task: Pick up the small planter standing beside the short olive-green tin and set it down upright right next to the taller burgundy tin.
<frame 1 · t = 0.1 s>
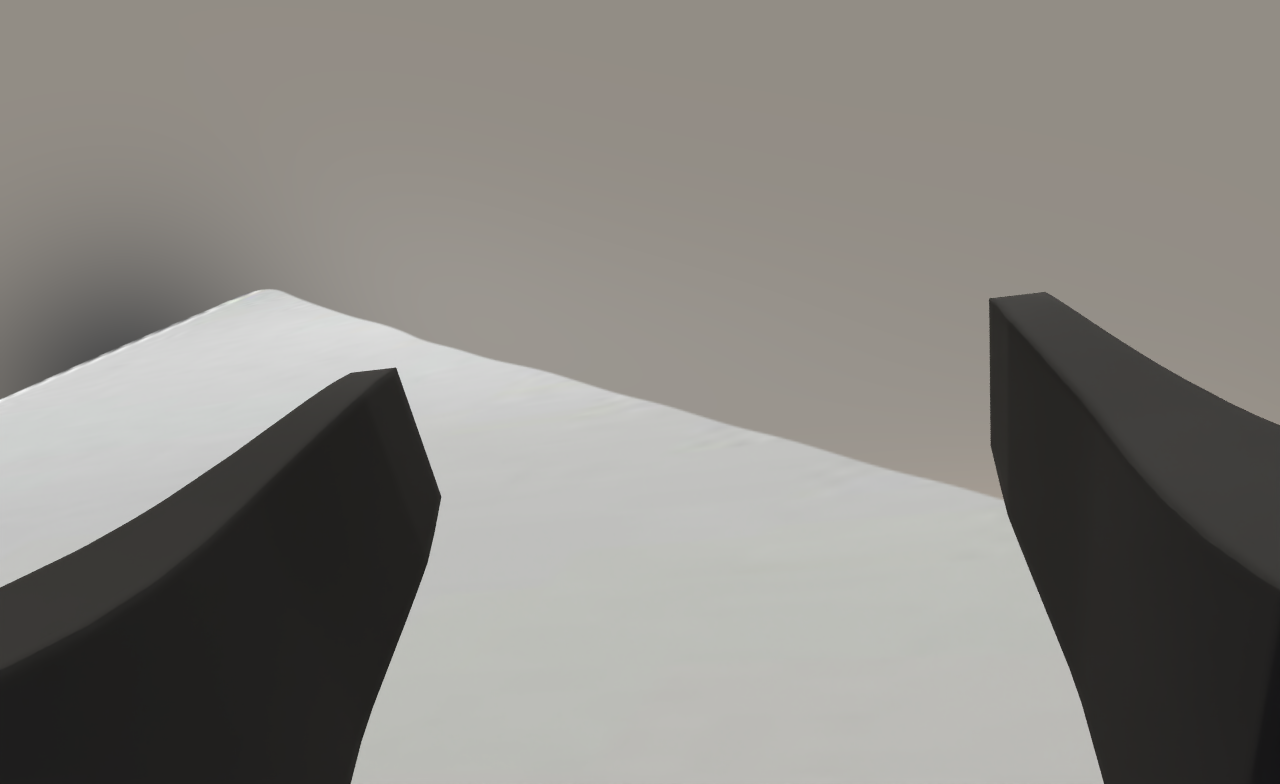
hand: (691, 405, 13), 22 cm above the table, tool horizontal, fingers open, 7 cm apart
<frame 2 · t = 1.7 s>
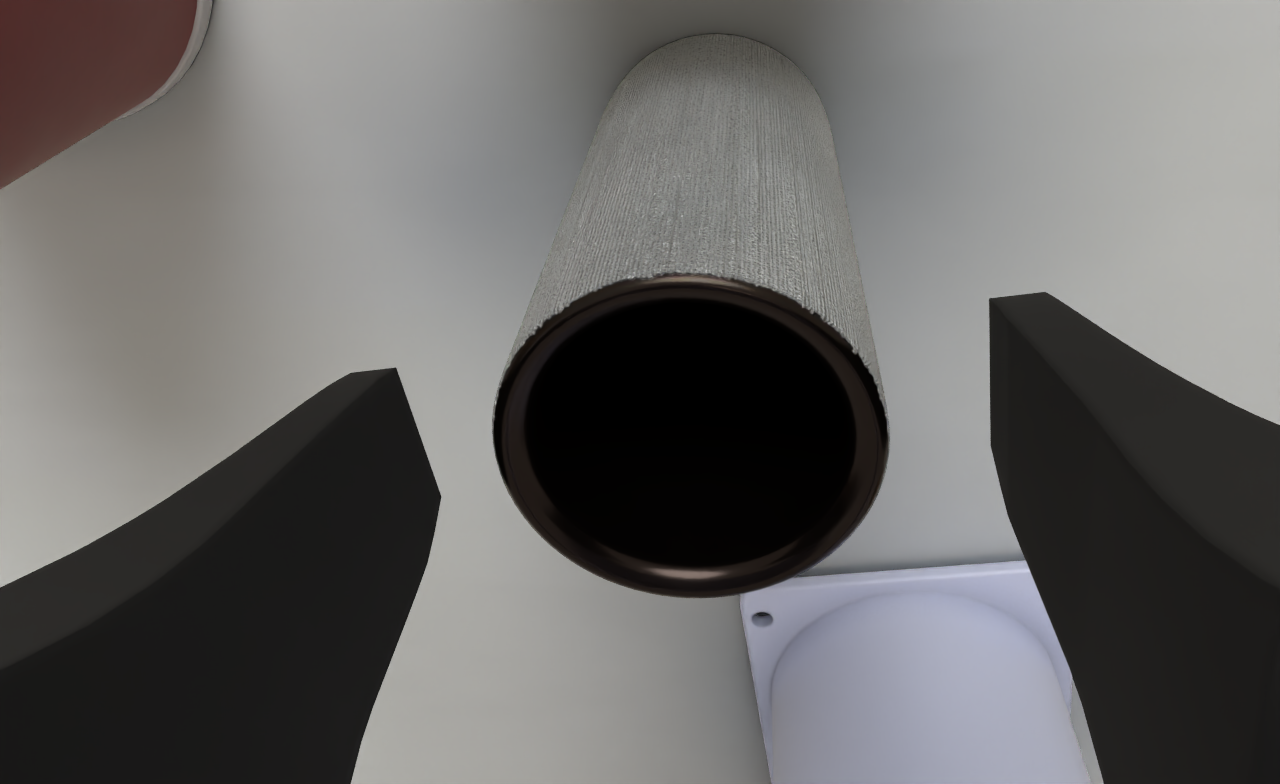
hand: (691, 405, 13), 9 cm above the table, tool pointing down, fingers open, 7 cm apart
planter: (714, 146, 21), on the table
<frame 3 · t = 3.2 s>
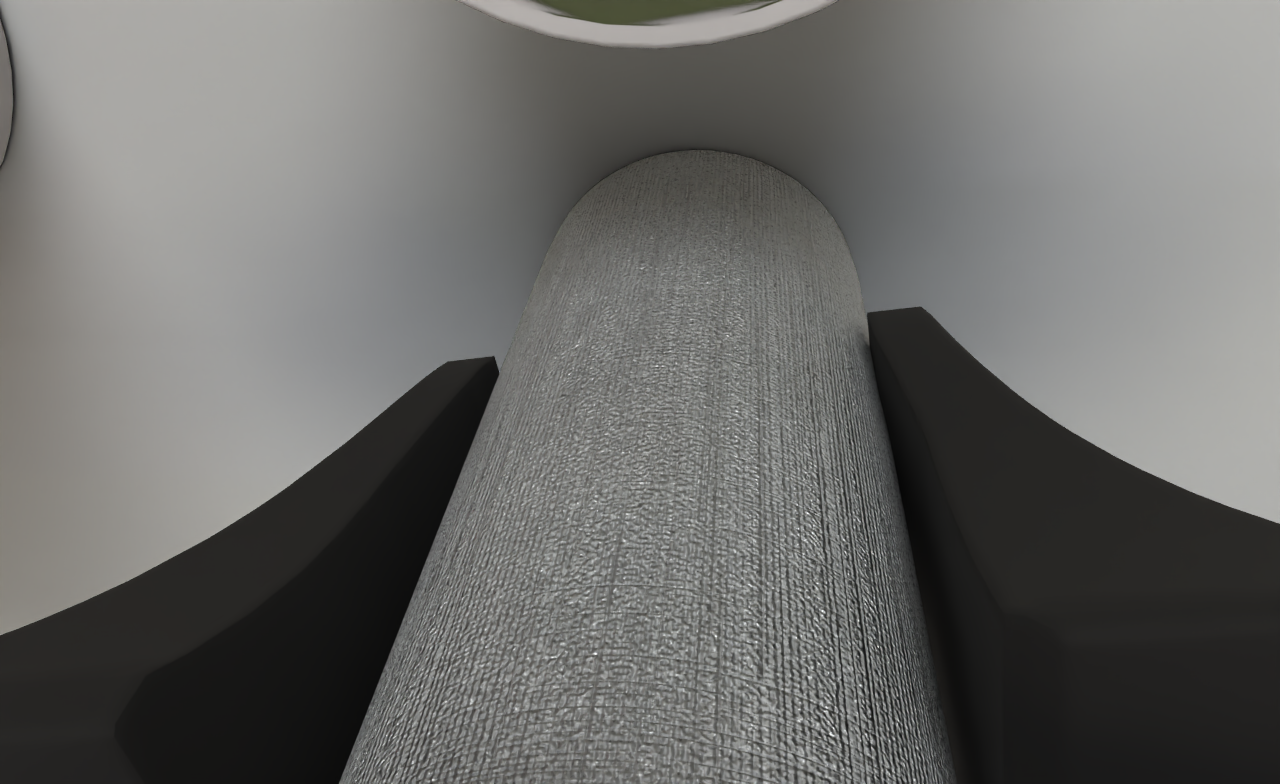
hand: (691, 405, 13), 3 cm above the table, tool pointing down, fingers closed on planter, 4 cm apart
planter: (699, 290, 15), on the table, touching gripper
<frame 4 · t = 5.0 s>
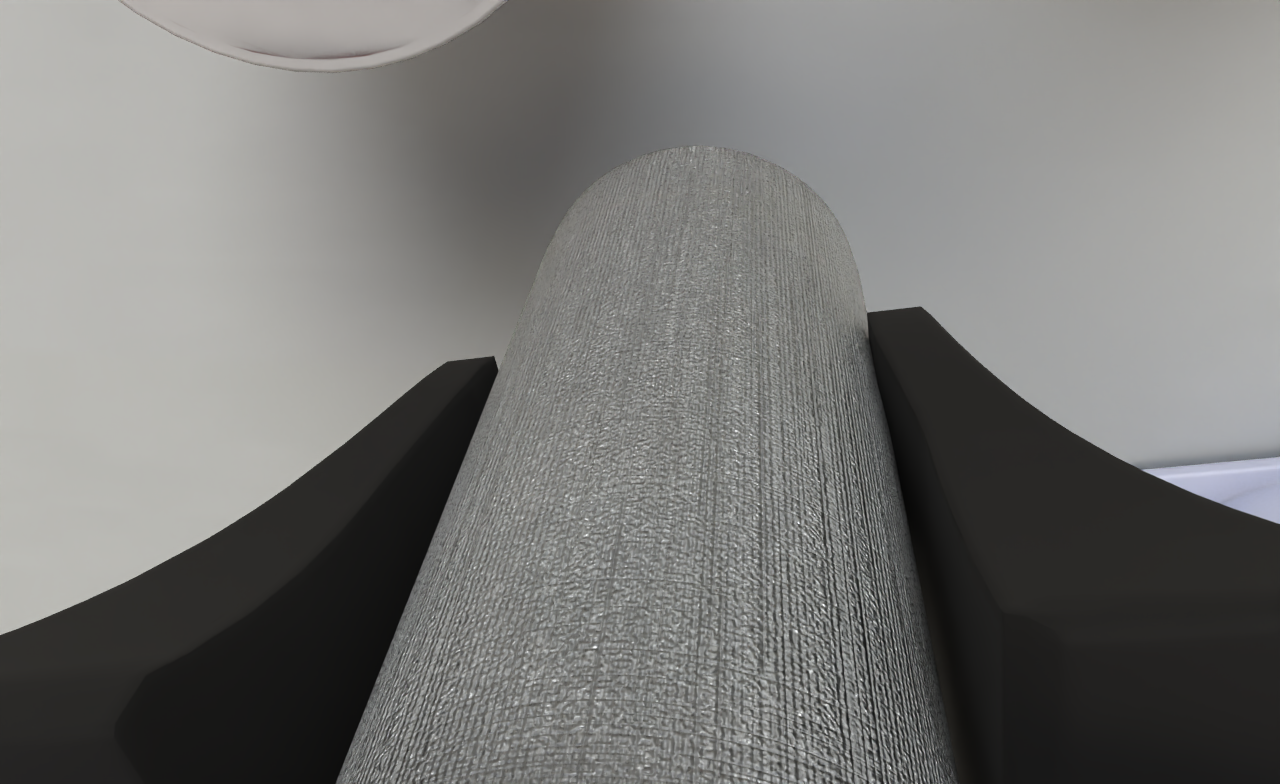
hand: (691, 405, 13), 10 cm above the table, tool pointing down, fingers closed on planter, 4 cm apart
planter: (699, 287, 15), point 7 cm above the table, touching gripper
when the fingers open (3 cm above the table, at t = 7.3 s): planter stays where it is, on the table.
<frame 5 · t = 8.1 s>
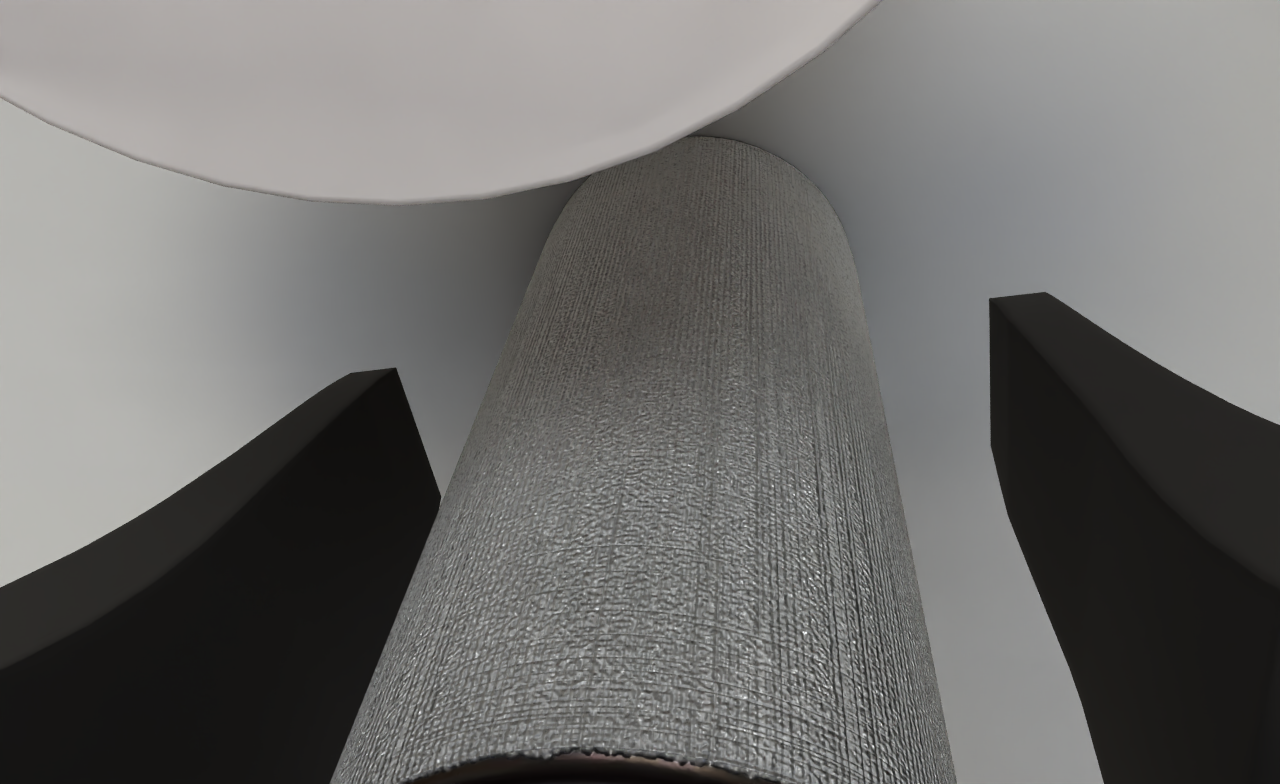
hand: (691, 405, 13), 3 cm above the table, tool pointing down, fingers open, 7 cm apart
planter: (698, 276, 16), on the table
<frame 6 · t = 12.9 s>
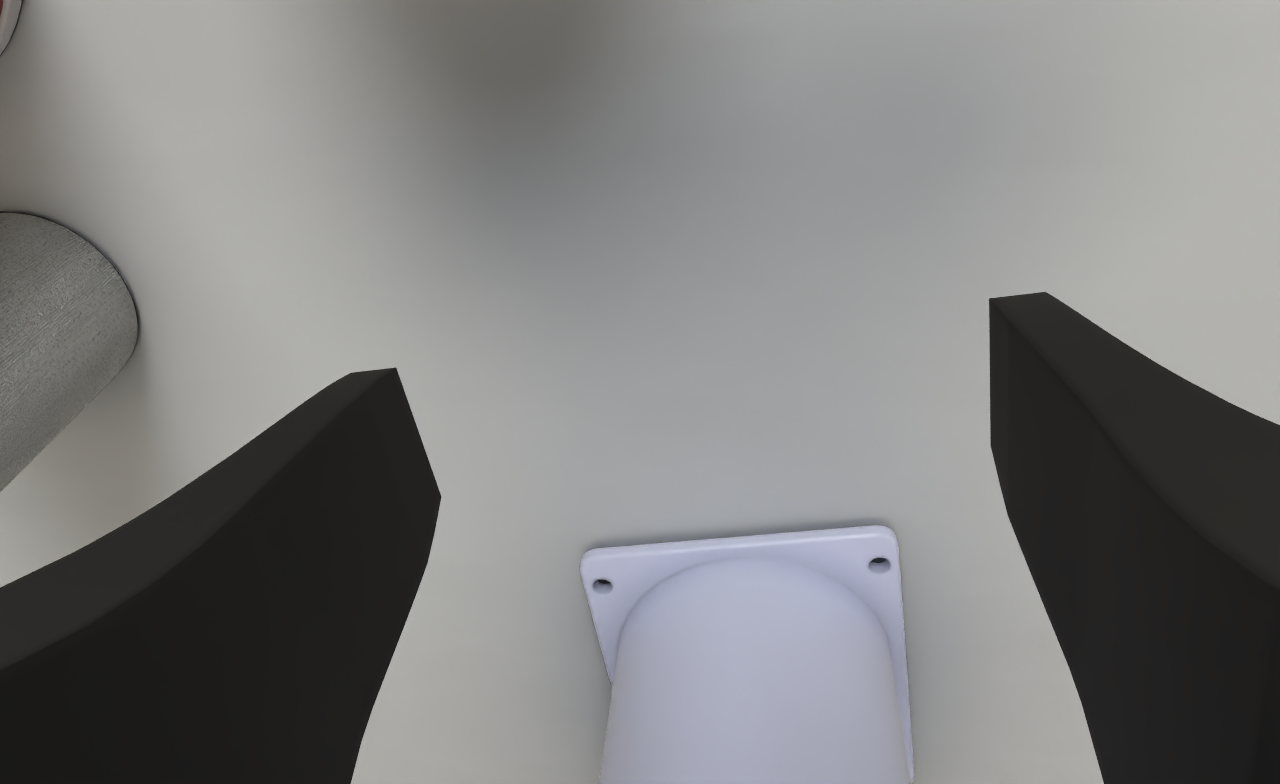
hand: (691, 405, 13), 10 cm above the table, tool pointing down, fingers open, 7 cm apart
planter: (49, 296, 25), on the table
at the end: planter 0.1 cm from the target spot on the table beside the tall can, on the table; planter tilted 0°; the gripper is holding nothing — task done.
